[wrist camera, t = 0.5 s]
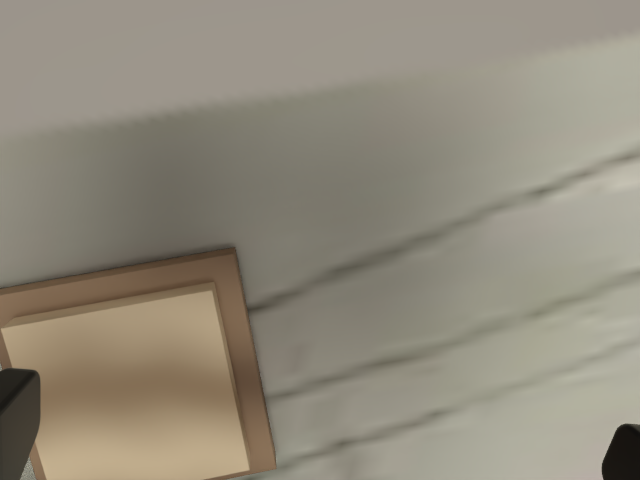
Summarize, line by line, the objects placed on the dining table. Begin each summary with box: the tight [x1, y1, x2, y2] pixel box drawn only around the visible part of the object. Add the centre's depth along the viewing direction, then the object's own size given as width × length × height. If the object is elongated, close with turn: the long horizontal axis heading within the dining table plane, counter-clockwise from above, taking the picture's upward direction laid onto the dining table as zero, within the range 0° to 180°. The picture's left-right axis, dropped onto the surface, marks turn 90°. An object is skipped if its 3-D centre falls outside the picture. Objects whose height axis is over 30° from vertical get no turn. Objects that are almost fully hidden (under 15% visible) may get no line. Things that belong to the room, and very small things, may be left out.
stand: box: [0, 247, 276, 480], centre depth 24 cm, size 10×10×2 cm
